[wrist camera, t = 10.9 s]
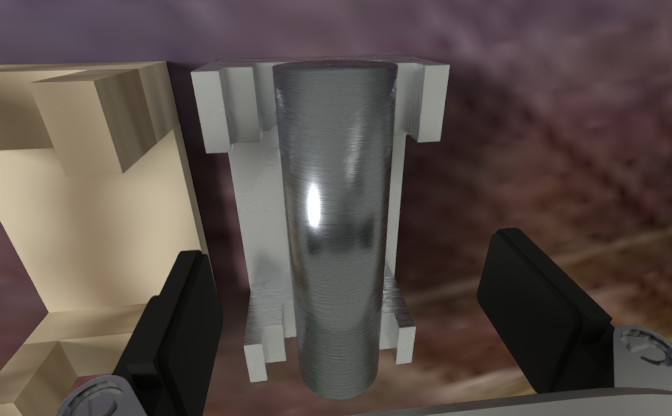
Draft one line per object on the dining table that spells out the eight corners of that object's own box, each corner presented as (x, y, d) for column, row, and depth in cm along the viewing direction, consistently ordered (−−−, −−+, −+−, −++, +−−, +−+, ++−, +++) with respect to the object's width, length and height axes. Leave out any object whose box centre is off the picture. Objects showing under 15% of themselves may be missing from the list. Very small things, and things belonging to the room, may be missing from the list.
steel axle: (370, 58, 13) (421, 68, 10) (362, 324, 20) (391, 386, 16) (265, 62, 12) (282, 75, 9) (292, 341, 19) (308, 410, 15)
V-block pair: (406, 55, 15) (449, 64, 11) (387, 300, 22) (411, 362, 18) (216, 59, 14) (190, 72, 10) (257, 314, 21) (250, 382, 17)
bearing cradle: (165, 60, 14) (93, 80, 9) (222, 317, 20) (201, 418, 15) (-56, 65, 13) (-287, 91, 8) (77, 332, 20) (0, 445, 14)
